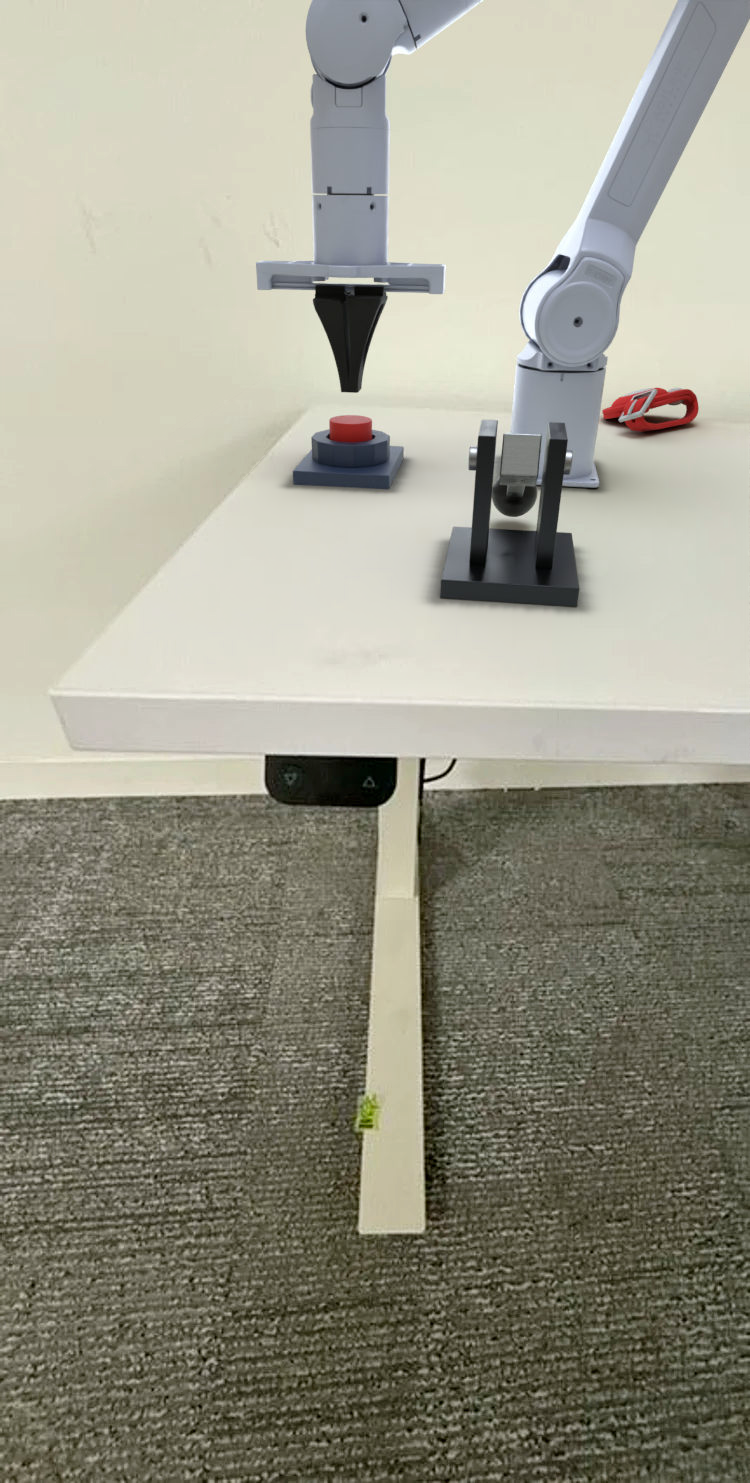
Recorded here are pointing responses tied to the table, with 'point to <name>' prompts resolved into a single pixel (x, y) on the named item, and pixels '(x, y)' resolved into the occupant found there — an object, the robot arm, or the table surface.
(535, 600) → the bracket
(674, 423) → the red strap with buckle
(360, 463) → the box
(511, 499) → the lever
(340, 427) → the button
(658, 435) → the table surface
